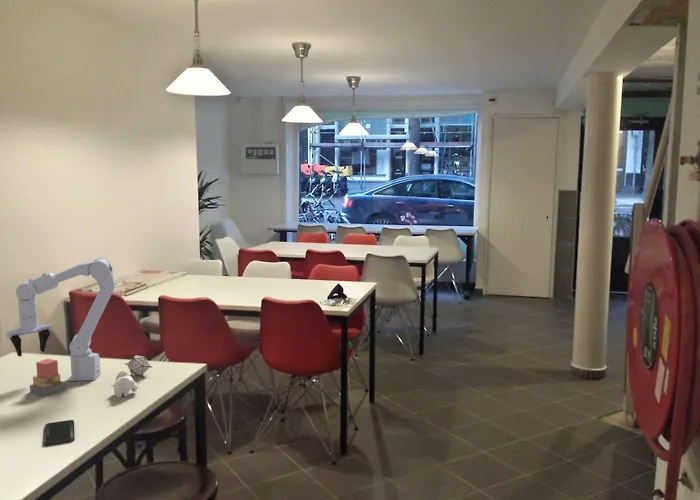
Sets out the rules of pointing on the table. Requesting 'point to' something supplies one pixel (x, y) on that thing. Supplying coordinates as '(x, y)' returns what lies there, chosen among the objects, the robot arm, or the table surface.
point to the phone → (59, 433)
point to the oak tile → (46, 381)
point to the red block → (47, 368)
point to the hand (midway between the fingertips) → (31, 353)
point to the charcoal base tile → (48, 389)
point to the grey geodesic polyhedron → (138, 365)
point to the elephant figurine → (124, 385)
